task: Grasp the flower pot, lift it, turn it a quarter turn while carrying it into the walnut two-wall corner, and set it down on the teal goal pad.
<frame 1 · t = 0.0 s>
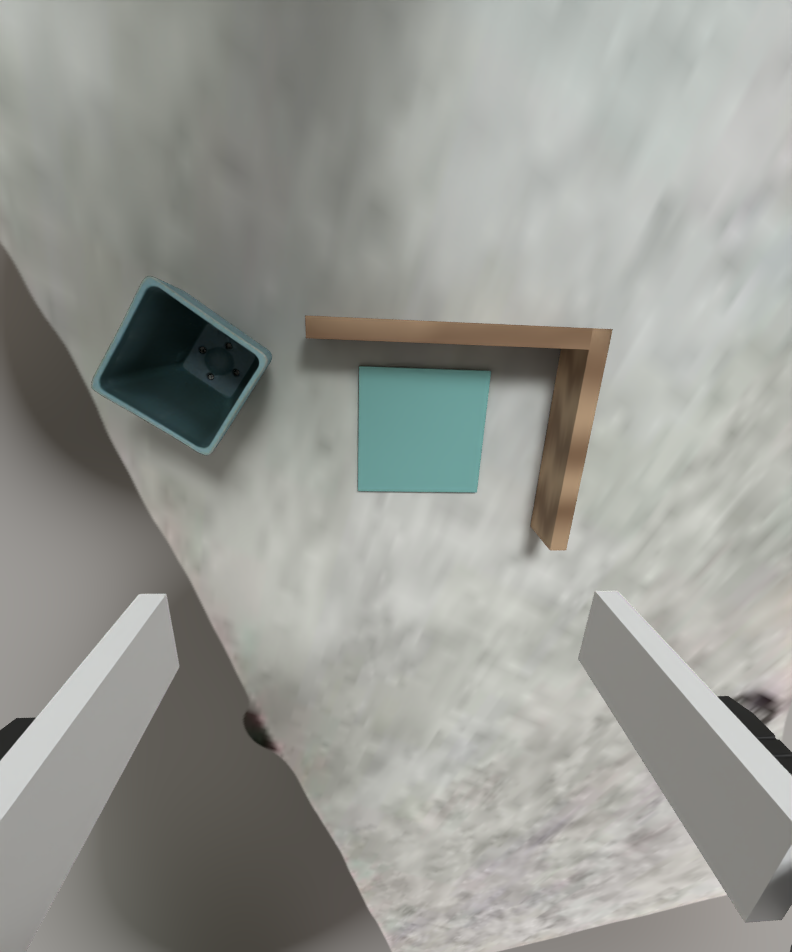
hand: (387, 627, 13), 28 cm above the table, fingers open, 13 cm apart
flower pot: (222, 360, 36), on the table
goal pad: (421, 432, 40), on the table
corner arena: (441, 432, 40), on the table
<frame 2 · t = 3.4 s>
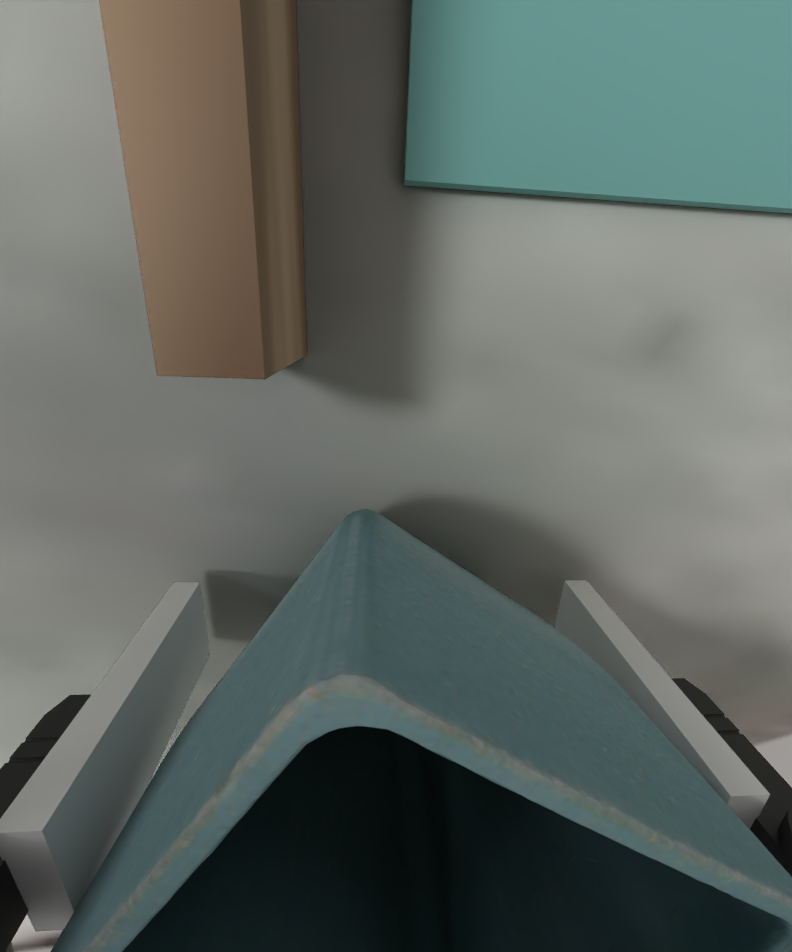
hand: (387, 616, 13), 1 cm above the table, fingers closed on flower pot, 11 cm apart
flower pot: (386, 598, 14), on the table, touching gripper
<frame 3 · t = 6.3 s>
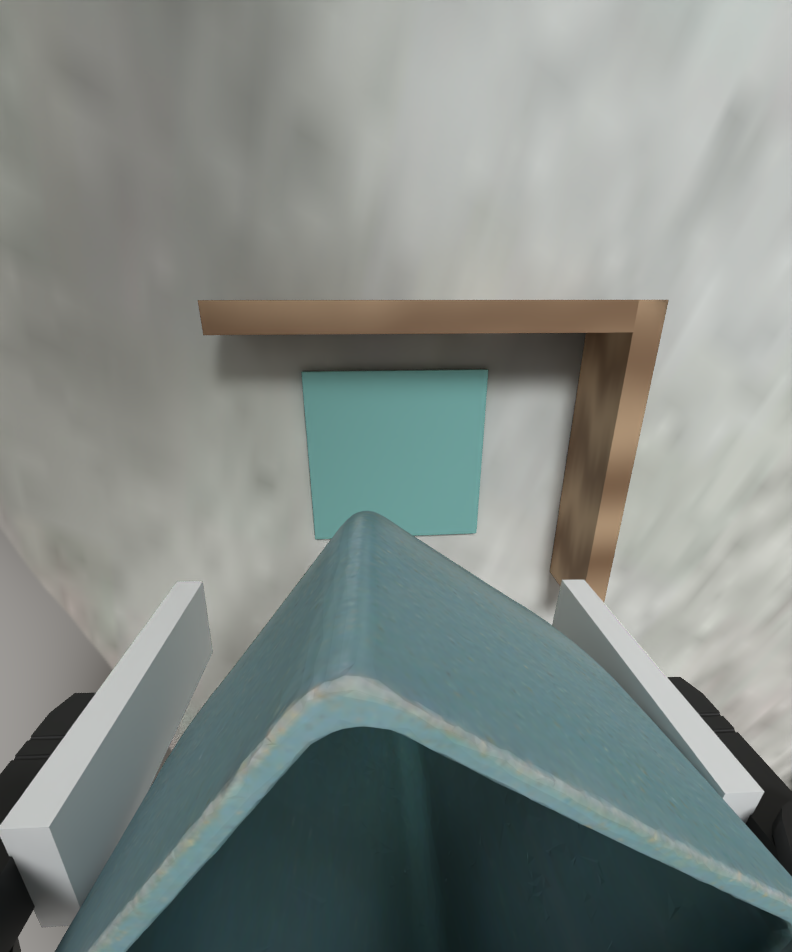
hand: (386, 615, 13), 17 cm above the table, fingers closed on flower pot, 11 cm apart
flower pot: (387, 598, 14), point 16 cm above the table, touching gripper
goal pad: (396, 457, 29), on the table
corner arena: (424, 457, 29), on the table
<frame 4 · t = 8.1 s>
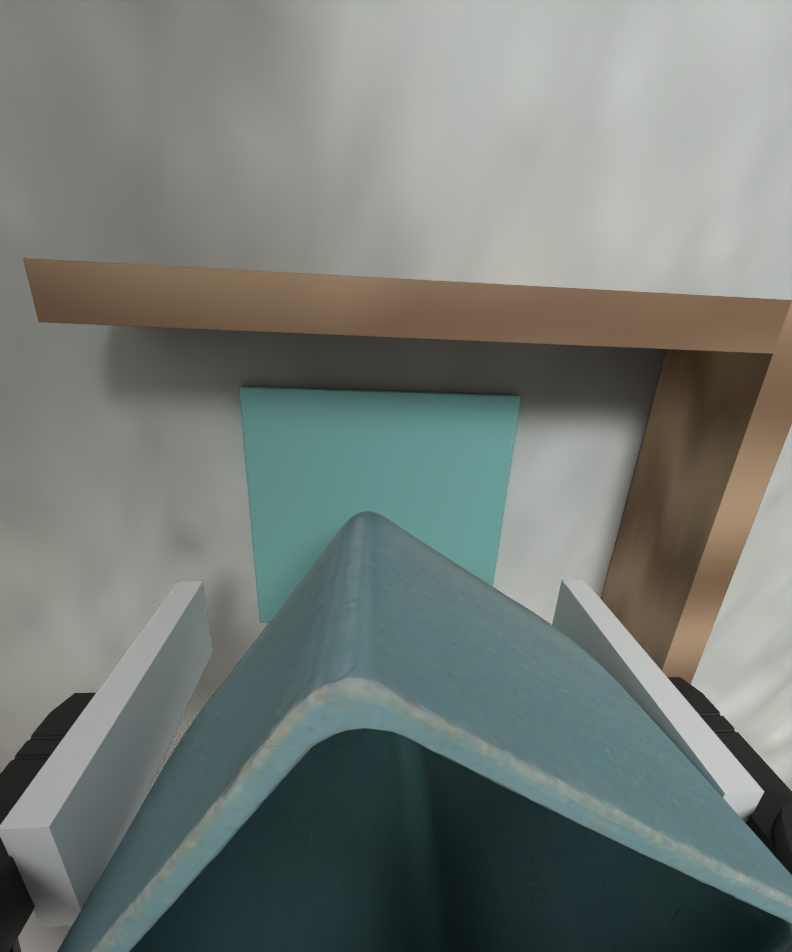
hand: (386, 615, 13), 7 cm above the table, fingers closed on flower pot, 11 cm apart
flower pot: (388, 599, 14), point 6 cm above the table, touching gripper
goal pad: (379, 515, 20), on the table
corner arena: (420, 515, 20), on the table
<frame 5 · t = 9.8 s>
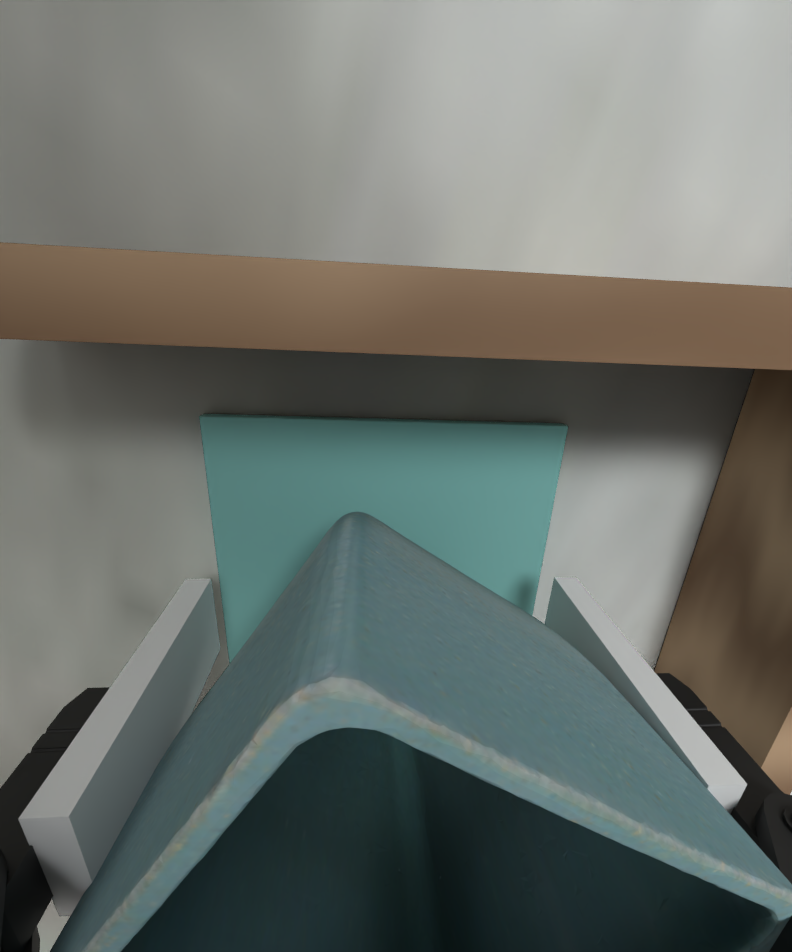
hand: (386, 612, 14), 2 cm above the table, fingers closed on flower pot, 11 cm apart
flower pot: (379, 599, 14), point 2 cm above the table, touching gripper
goal pad: (383, 572, 16), on the table
corner arena: (435, 572, 16), on the table
when the fingers open (2 cm above the table, at t = 10.0 s): flower pot drops 1 cm, resting on goal pad.
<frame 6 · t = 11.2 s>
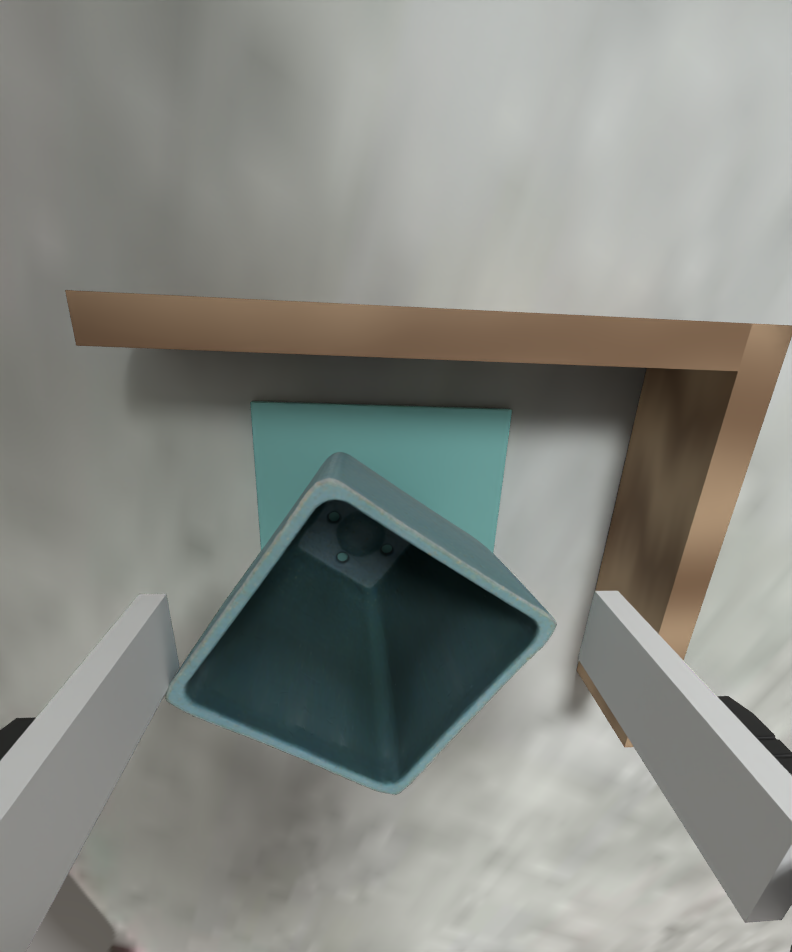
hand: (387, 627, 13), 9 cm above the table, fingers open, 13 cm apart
flower pot: (360, 526, 21), resting on goal pad
goal pad: (380, 521, 21), on the table
corner arena: (418, 521, 21), on the table
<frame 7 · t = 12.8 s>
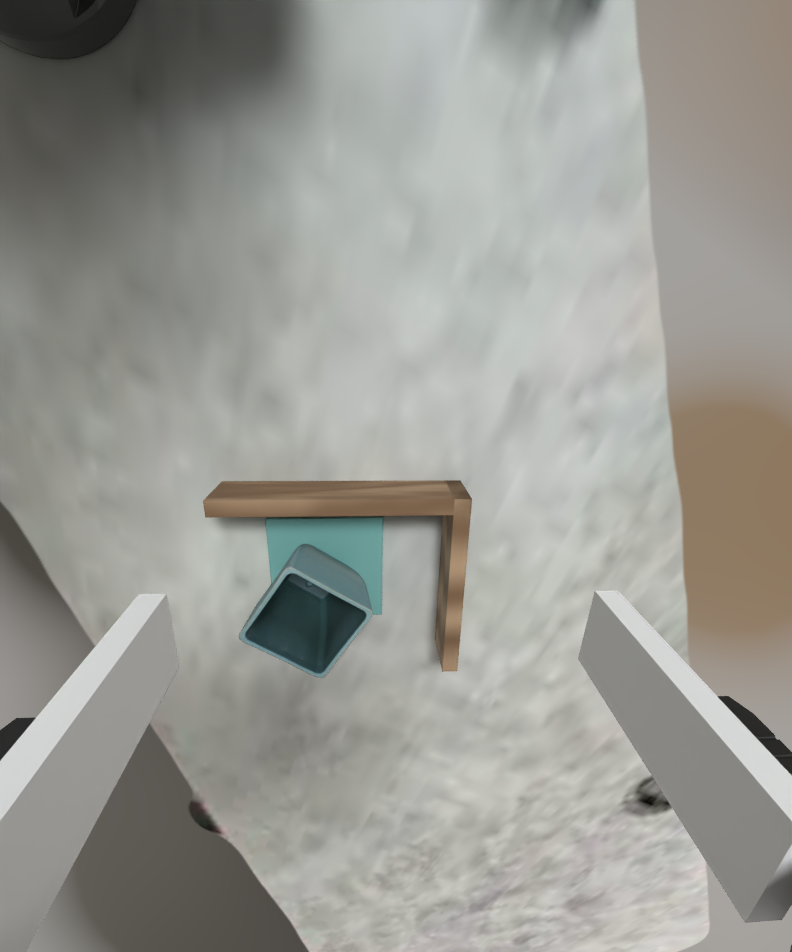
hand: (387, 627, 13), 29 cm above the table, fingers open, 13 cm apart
flower pot: (317, 569, 45), resting on goal pad
goal pad: (327, 567, 45), on the table
corner arena: (345, 567, 45), on the table
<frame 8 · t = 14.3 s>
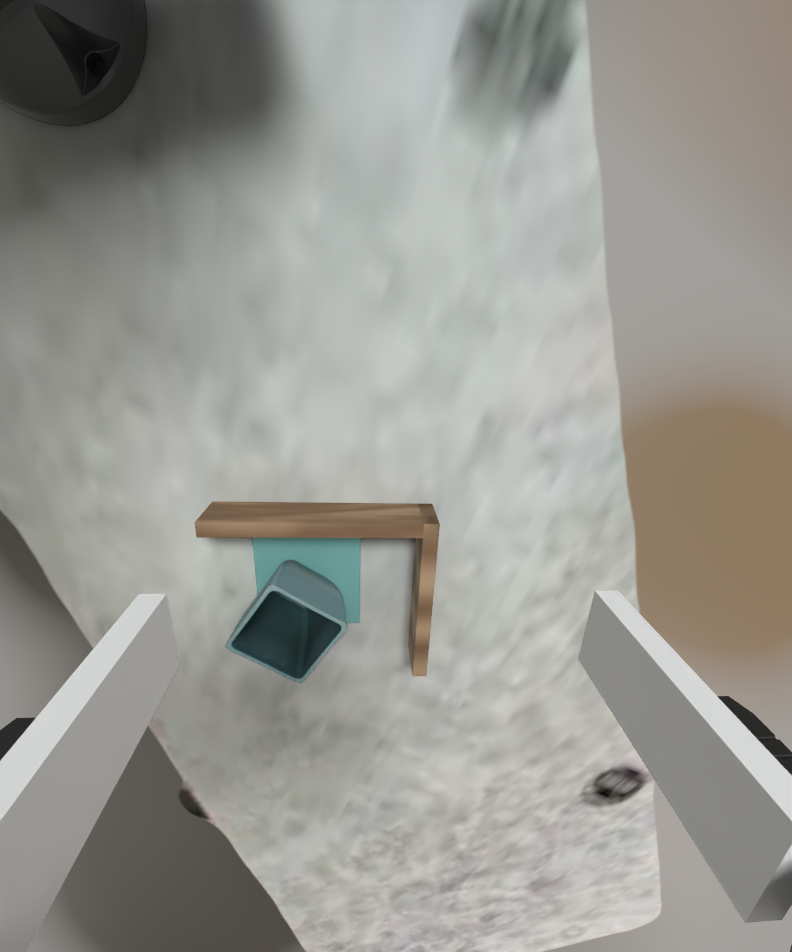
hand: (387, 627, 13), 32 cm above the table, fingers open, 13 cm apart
flower pot: (300, 582, 49), resting on goal pad
goal pad: (309, 579, 49), on the table
corner arena: (326, 579, 49), on the table
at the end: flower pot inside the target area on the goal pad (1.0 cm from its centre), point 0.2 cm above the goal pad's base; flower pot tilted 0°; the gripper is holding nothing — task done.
